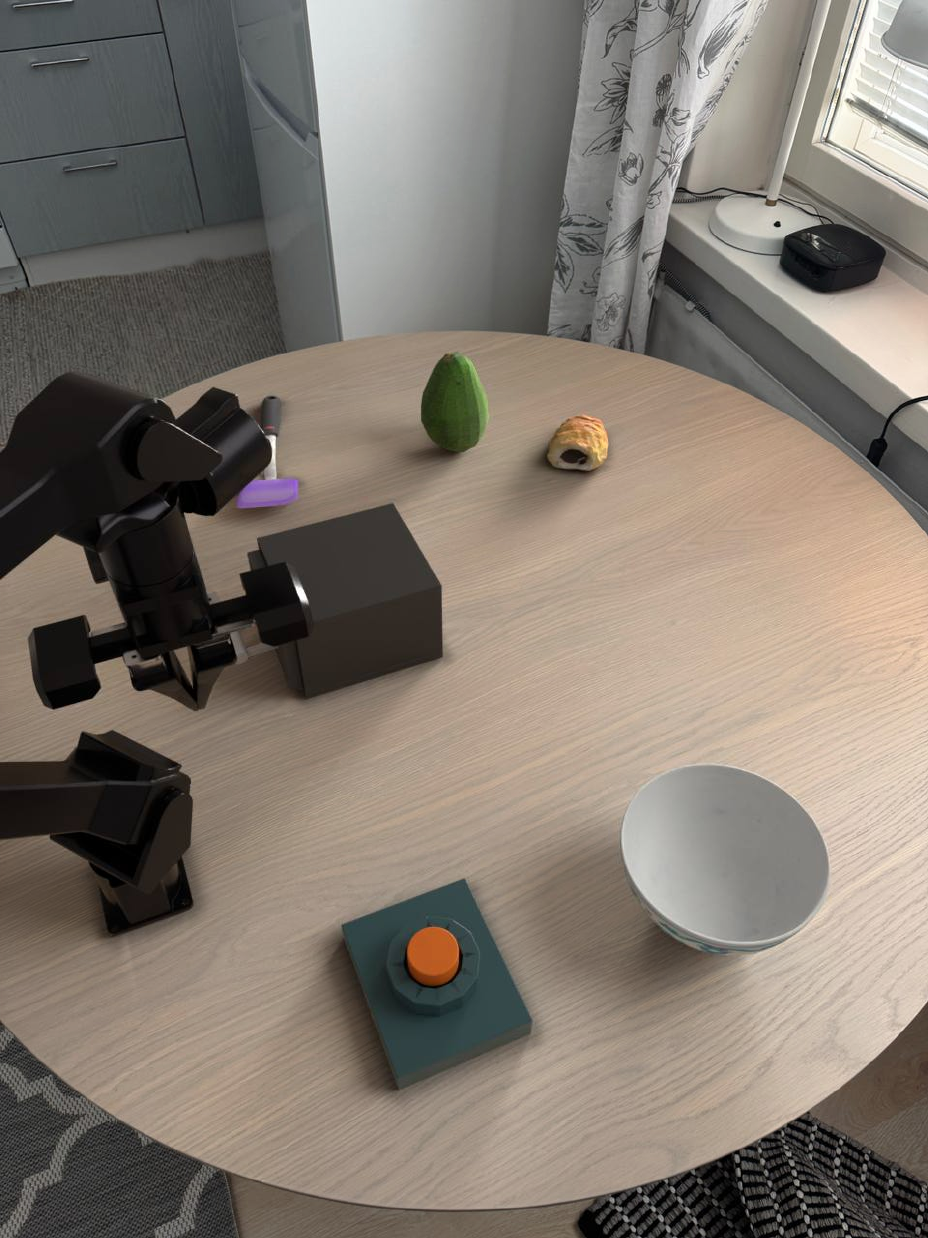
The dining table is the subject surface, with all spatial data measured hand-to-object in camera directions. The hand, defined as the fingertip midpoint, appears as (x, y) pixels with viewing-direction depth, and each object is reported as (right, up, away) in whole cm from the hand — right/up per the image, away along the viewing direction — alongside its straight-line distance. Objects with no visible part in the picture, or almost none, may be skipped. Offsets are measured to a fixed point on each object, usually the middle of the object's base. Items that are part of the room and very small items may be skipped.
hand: (198, 705), depth 76 cm
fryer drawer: (+6, +5, +20) cm, 22 cm away
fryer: (+9, +5, +22) cm, 25 cm away
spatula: (-3, +25, +42) cm, 49 cm away
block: (+18, -20, -3) cm, 27 cm away
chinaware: (+39, -16, +2) cm, 42 cm away
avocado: (+19, +27, +44) cm, 55 cm away
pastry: (+34, +26, +43) cm, 61 cm away
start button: (+18, -18, -5) cm, 26 cm away
